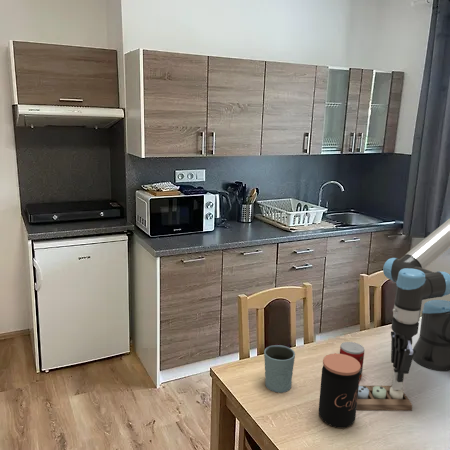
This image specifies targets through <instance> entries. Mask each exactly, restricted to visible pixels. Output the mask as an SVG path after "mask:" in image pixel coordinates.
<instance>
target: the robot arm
mask: <svg viewBox="0 0 450 450" xmlns="http://www.w3.org/2000/svg"><path fill="white" fill-rule="evenodd" d="M449 249H450V218H448V219H447V220H446V221H445V222H443V223H442V224H441V225H439V227H437V228H436V229H435V230H434V231H432V232H431V233H430V234H428V235H427V236H426V237H425V238H424V239H423V240H421V241H420V242H419V243H418V244H416V245H415V246H414V247H413V248H411V249H410V250H409V251H407V253H405V254H404V255H403V256H401V258H398V257H391V258H388V259H387V260H386V261H385V262H384V264H383V268H382V271H383V275H384V276H385V278H386V279H389V280H391V281H392V282H394V283H395V284H396V286H395V294H394V295H395V296H394V297H395V298H394V304H393V308H392V312H393V314H392V319H391V330H392V331H391V332H390V338H391V343H390V344H391V346H390V349H391V350H390V362H391V364H393V365H392V366H393V373H392V380H391V381H392V382H391V386H392V389H393V390H402V389H403V385H404V379H405V378H404V376H405V375H408V374H409V373H410V370H411V366H412V363H413V361H414V362H416V363H417V364H418V365H420V366H422V367H424V368H427V369H429V370H434V371H440V372H441V371H443V372H444V371H445V372H448V371H450V300H445V299H436V298H442V297H444V296H445V297H446V296H449V295H450V274H449V273H448V272H446V271H431V270H429V269H427V267H429V266H430V265H431V264H432V263H433V262H435V261H436V260H437V259H438V258H440V257H441V255H443V254H445V252H447V251H448V250H449ZM434 298H435V299H434ZM429 299H432V300H429ZM425 300H428V301H426V302H425V303H424V304H422V303H423V301H425ZM422 305H423V307H422ZM422 308H423V310H422ZM420 319H421V321H420ZM419 324H420V325H419ZM419 326H420V329H419ZM418 332H419V337H418V339H417V340H416V342H415V344H414V346H412V345H413V337H414V336H416V335H418Z"/></svg>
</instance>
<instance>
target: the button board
mask: <svg viewBox="0 0 450 450" xmlns="http://www.w3.org/2000/svg"><path fill="white" fill-rule="evenodd" d="M359 386H366V387H367V388H368V389H369V395H368V399H357V407H356V411H403V412H404V411H405V412H407V411H412V410H413V403H412V402H411V401H410V399H409V398H408V396H407V395H406V394H405V392H403V399H391V397H390V396H389V393H390V387H392V385H380V386H381V387H383V388H385V389H386V398H385V399H374V398H373V396H372V392H373V387H374V386H375V385H365V384H363V385H360V384H359Z"/></svg>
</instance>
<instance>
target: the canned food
mask: <svg viewBox="0 0 450 450" xmlns="http://www.w3.org/2000/svg"><path fill="white" fill-rule="evenodd" d="M339 354H344V355H348V356H351V357H353V358H355V359H356V360H357V361H358V362H359V363H360V365H361V367H360V371H359V372H360V378H359V381H360V380H361V379H362V376H363V368H364V358H365V347H364V346H363V345H362V344H360V343H358V342H353V341H344V342H341V343H340V347H339Z"/></svg>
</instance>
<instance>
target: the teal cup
mask: <svg viewBox="0 0 450 450" xmlns="http://www.w3.org/2000/svg"><path fill="white" fill-rule="evenodd" d="M263 355H264V356H263V357H264V376H265V377H264V378H265V379H264V381H265V383H264V384H265V387H266V388H267V390H270V391H271V392H273V393H274V392H275V393H286V392H288V391H290V390H291V388H292V383H293V382H292V381H293V372H294V364H295V360H296V359H295V358H296V353H295V351H294V349H292V348H290V347H289V346H286V345H281V344H279V345H278V344H275V345H269V346H267V347H266V348H265V349H264V351H263Z"/></svg>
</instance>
